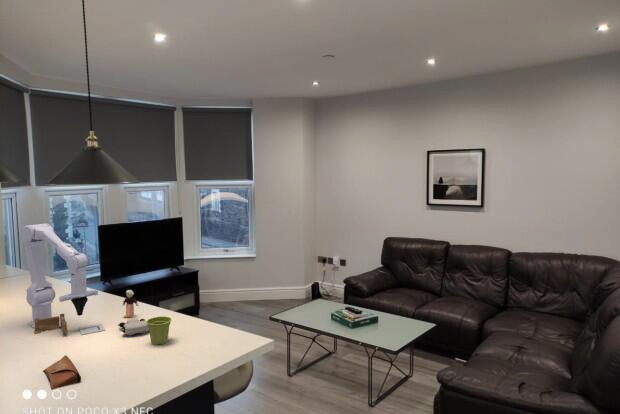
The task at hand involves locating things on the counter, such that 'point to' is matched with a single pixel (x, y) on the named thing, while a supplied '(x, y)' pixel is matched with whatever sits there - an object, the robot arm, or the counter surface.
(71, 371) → the sunglasses case
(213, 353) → the counter surface
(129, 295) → the grandmother figurine
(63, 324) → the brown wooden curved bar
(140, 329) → the robot toy
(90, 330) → the card
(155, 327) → the plant pot
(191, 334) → the counter surface
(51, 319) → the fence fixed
